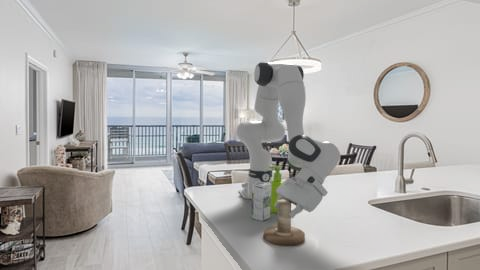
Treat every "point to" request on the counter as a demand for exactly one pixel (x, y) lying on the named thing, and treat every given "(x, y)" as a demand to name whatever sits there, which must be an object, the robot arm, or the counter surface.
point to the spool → (283, 219)
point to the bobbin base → (292, 240)
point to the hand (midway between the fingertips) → (282, 212)
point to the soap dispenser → (275, 187)
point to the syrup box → (261, 201)
